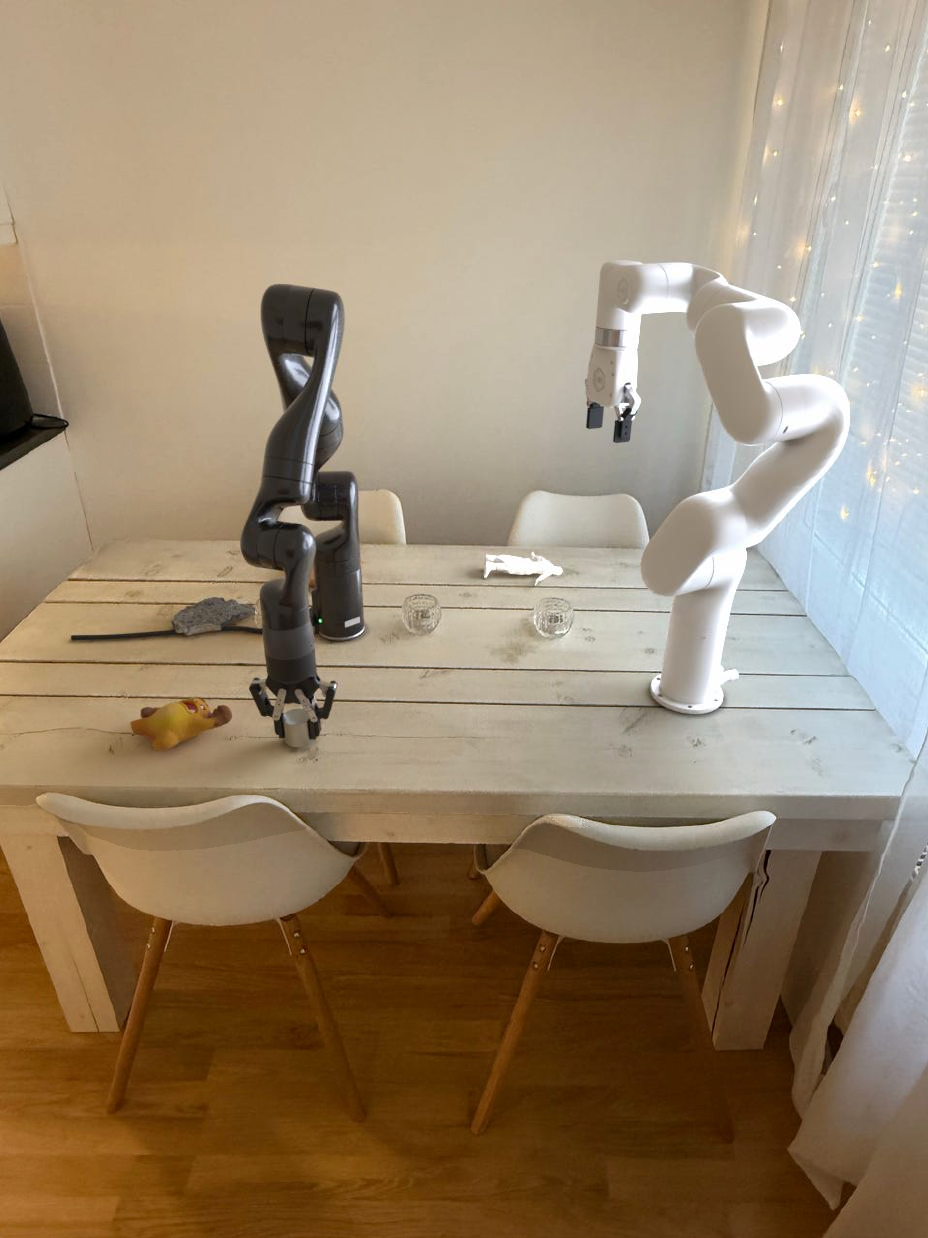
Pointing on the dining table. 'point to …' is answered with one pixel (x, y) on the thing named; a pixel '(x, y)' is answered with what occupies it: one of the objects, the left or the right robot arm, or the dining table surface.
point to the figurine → (520, 566)
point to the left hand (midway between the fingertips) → (298, 735)
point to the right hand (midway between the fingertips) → (607, 434)
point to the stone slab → (210, 615)
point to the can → (296, 728)
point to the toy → (179, 721)
